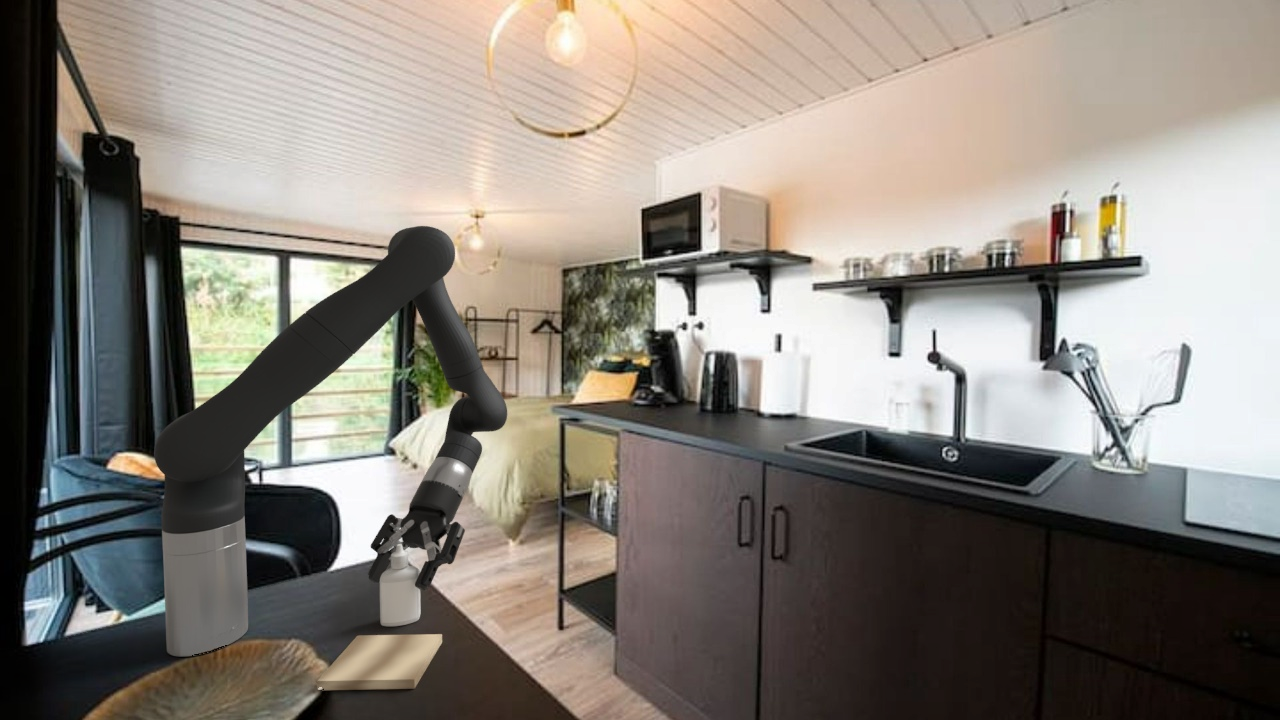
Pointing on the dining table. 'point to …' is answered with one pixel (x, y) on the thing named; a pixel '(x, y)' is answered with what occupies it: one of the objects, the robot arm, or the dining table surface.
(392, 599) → the eye dropper bottle
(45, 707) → the dining table surface
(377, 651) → the oak board
